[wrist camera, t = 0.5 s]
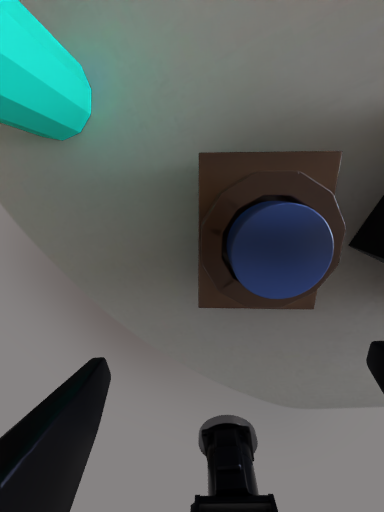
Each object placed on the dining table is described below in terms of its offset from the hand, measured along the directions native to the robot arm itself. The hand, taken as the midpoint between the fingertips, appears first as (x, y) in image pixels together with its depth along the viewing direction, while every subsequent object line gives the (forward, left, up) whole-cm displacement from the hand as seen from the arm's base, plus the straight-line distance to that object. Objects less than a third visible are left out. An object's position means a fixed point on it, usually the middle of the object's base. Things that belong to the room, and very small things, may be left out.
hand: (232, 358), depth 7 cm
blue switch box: (+2, -3, -12) cm, 13 cm away
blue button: (+2, -3, -6) cm, 7 cm away
